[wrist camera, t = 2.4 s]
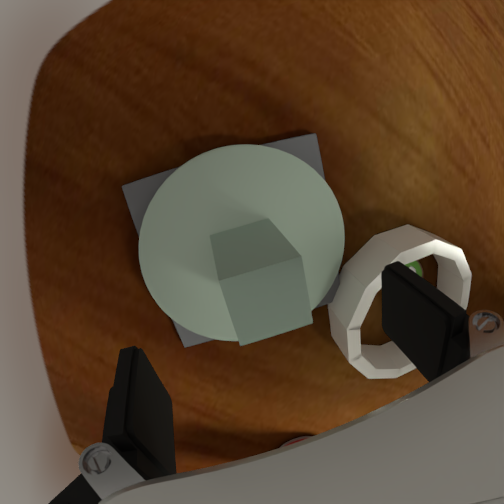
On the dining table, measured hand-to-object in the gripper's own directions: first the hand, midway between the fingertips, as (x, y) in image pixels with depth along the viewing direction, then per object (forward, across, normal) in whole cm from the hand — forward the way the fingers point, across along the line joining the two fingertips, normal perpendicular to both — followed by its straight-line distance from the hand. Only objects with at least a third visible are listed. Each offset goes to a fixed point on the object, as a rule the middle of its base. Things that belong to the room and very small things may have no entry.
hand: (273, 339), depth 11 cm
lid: (+10, -1, 0) cm, 10 cm away
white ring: (+10, -12, +8) cm, 17 cm away
